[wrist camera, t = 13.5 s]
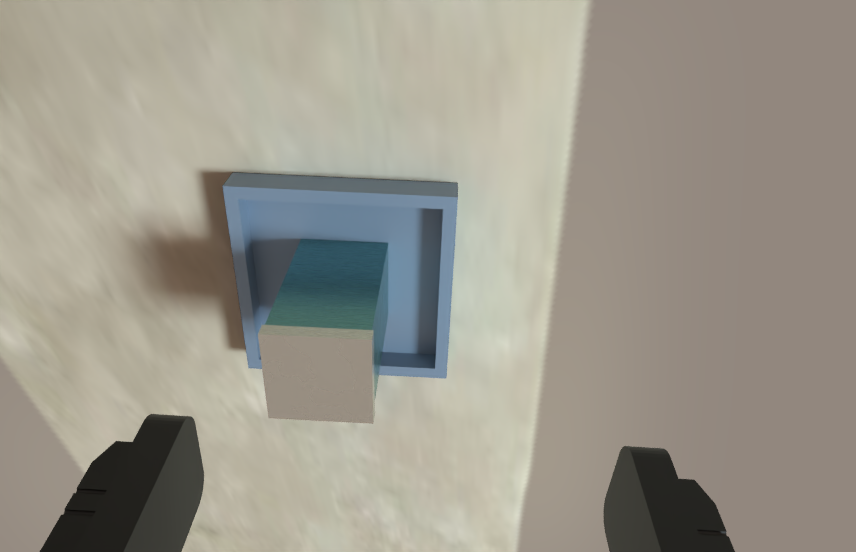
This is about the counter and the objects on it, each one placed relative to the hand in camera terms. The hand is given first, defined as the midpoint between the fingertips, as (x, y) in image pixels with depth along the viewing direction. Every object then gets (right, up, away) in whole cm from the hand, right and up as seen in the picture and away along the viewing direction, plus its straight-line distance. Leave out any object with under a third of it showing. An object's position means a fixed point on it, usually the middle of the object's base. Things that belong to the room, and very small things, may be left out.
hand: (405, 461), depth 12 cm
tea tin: (-5, +3, +30) cm, 31 cm away
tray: (-5, +4, +31) cm, 31 cm away
